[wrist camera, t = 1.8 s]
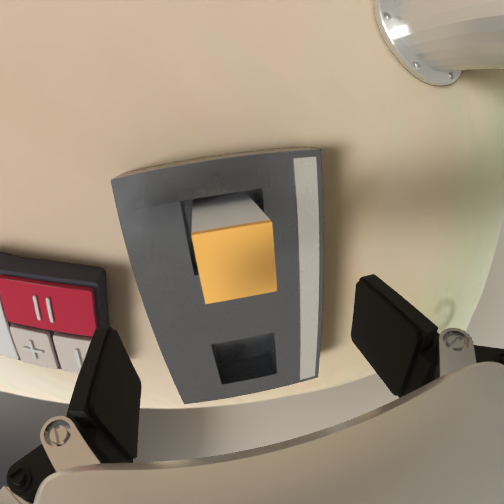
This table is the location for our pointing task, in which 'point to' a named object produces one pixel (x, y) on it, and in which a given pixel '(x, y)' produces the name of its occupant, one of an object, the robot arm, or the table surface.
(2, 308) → the calculator
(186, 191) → the port panel
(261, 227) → the plug
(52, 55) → the table surface
